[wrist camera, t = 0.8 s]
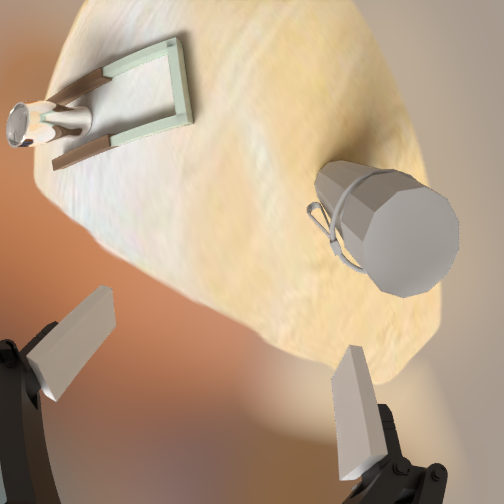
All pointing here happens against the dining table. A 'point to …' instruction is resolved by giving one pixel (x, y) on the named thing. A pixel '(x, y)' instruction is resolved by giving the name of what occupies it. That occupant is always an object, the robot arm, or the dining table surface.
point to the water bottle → (388, 225)
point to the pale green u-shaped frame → (177, 80)
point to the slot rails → (68, 96)
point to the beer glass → (45, 123)
